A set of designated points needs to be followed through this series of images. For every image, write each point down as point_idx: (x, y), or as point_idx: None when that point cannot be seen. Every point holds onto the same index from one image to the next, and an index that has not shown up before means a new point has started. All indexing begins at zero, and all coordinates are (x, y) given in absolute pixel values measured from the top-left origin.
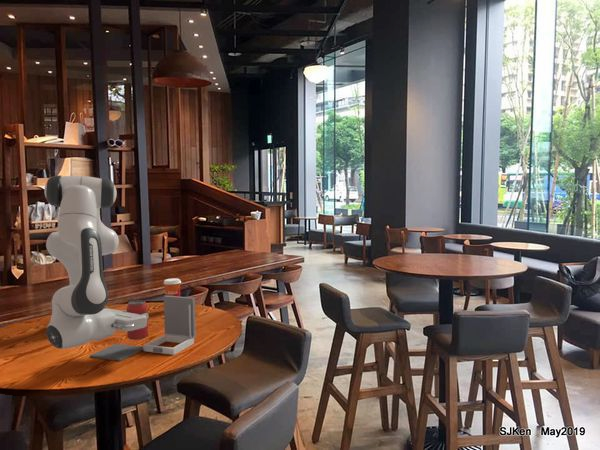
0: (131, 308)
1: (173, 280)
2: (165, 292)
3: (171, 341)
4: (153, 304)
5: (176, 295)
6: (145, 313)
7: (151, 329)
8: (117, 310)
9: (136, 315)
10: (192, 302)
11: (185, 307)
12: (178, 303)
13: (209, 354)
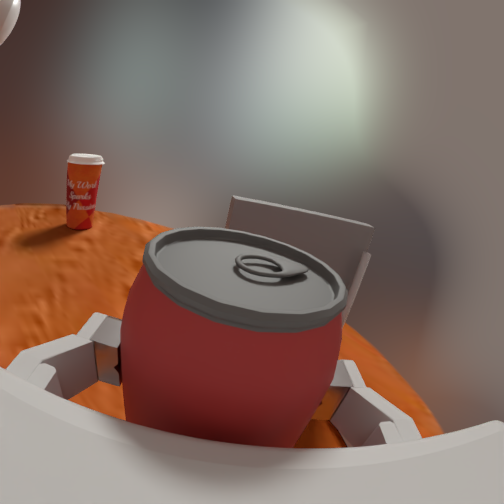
0: (283, 380)
1: (91, 156)
2: (70, 183)
3: None
4: (31, 208)
5: (93, 192)
6: (351, 371)
7: (82, 303)
8: (31, 405)
9: (483, 465)
10: (368, 243)
11: (333, 261)
12: (308, 242)
13: (424, 409)
